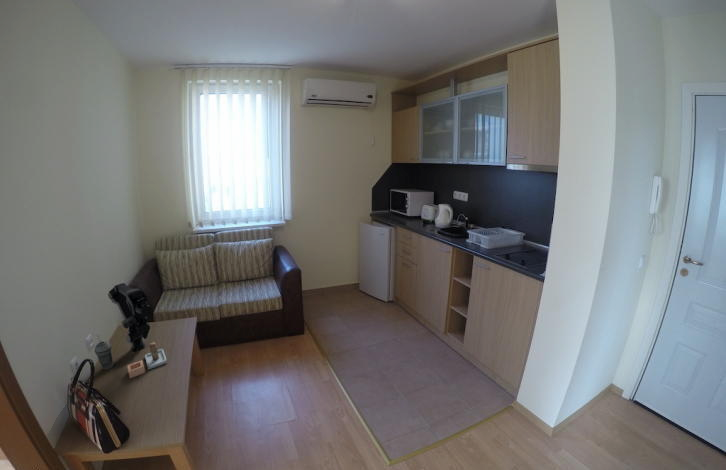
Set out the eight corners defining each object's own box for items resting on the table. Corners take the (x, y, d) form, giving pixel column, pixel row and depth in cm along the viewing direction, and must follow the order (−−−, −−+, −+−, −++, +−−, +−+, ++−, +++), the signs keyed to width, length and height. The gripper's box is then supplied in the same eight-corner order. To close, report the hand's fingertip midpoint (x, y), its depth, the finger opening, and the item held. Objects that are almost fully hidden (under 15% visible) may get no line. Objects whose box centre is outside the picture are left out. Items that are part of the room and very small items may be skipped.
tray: (145, 357, 182) (144, 354, 181) (163, 350, 188) (162, 348, 187) (148, 369, 172) (147, 367, 171) (167, 362, 177) (166, 359, 177)
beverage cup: (107, 372, 170) (98, 340, 165) (96, 370, 172) (87, 338, 166) (119, 363, 177) (111, 332, 172) (109, 361, 179) (100, 331, 173)
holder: (128, 371, 170) (127, 365, 169) (143, 366, 175) (142, 360, 174) (129, 378, 165) (128, 371, 164) (145, 372, 170) (143, 366, 169)
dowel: (152, 358, 180) (149, 343, 177) (158, 356, 181) (155, 341, 179) (153, 361, 177) (149, 346, 175) (159, 359, 179) (156, 344, 177)
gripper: (120, 309, 179) (126, 333, 183) (122, 323, 165) (128, 348, 169) (143, 303, 186) (148, 326, 190) (147, 315, 172) (153, 340, 176)
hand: (144, 335), depth 181 cm, fingers open, 9 cm apart
